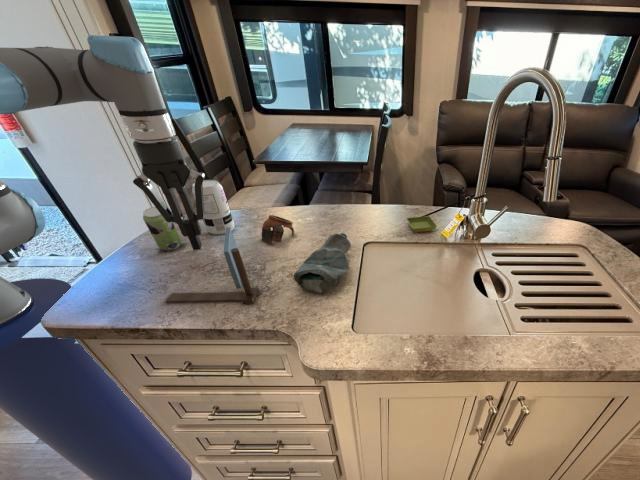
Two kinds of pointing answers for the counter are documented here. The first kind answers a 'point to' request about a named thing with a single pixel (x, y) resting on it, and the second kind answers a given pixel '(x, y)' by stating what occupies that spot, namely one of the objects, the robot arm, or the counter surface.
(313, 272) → the grey soft lump
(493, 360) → the counter surface
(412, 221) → the green square dish
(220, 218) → the supplement can
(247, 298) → the brown l-shaped stand
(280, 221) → the brown piece
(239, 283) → the door
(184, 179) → the robot arm
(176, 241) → the beverage can
